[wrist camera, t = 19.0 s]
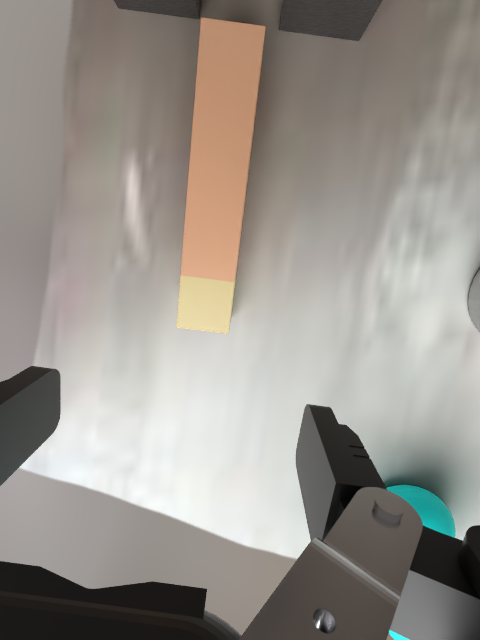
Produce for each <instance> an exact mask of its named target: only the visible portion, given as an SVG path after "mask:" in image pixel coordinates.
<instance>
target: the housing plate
mask: <svg viewBox="0 0 480 640" xmlns="http://www.w3.org/2000/svg"><path fill="white" fill-rule="evenodd" d="M114 1H115V3H116V5H117V7H118V8H121V9H128V10H136V11H143V12H150V13H158V14H165V15H172V16H180V17H187V18H194V19H199V14H200V1H201V0H114ZM381 2H382V0H283V5H282V13H281V20H280V28H279V30H282V31H290V32H297V33H305V34H312V35H319V36H327V37H334V38H341V39H349V40H356V41H359V40H360V38H361V36H362V35H363V33H364V31H365V29H366V28H367V26H368V24H369V23H370V21H371V19H372V17H373V16H374V14H375V12H376V11H377V9H378V7H379V5H380V4H381Z"/></svg>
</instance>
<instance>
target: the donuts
mask: <svg viewBox="0 0 480 640" xmlns="http://www.w3.org/2000/svg"><path fill="white" fill-rule="evenodd" d="M386 489H387V490H388V491H390V492H393V493H395V494H397V495H398V496H400V497H401V498H403V499H404V500H406V501H407V502H408V503H409V504H410V505H411V506H412V507H413V508H414V509H415V510H416V511H417V513H418V514H419V516H420V518H421V520H422V523H423V525H424V526H426V527H428V528H430V529H433V530H435V531H438V532H440V533H443V534H446V535H448V536H451V537H454V538H455V524H454V520H453V517H452V515H451V513H450V511H449V509H448V508H447V506H446V505H445V504H444V502H443V501H442V500H441V499H440V498H438V497H437V496H436V495H434V494H433V493H431V492H430V491H428V490H425V489H423V488H420V487H417V486H411V485H396V486H390V487H386ZM389 633H390V635H391V636H392V637H393V638H394V639H395V640H409V639H407V638H405V637H403V636H401V635H399V634H397V633H395V632H393V631H391V630H389Z"/></svg>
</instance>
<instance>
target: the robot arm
mask: <svg viewBox="0 0 480 640" xmlns="http://www.w3.org/2000/svg"><path fill="white" fill-rule="evenodd" d="M468 307H469V313H470V316H471V320H472V321H473V323H474V325H475V327H476V328H477V329H478V330H479V331H480V270H479V271H478V273H477V274H476V276H475V278H474V280H473V282H472V285H471V287H470V292H469V297H468ZM59 419H60V373H59V371H58V370H56V369H50V368H43V367H36V366H31V367H29V368H27V369H25V370H24V371H22V372H20V373H19V374H17V375H15V376H13V377H12V378H10V379H8V380H5V381H2V382H0V486H1V485H2V484H3V483H4V482H5V481H6V480H7V479H8V478H9V477H10V476H11V475H12V474H13V473H14V472H15V470H17V469H18V468H19V467H20V466H21V465H22V464H23V463H24V462H25V461H26V460H27V459H28V458H29V457H30V456H31V455H32V454H33V453H34V452H35V451H36V450H37V449H38V448H39V447H40V446H41V445H42V444H43V443H44V442H45V441H46V440H47V439H48V438H49V437H50V436H51V435H52V433H53V432H54V431H55V429H56V427H57V425H58V422H59ZM296 468H297V473H298V478H299V483H300V488H301V493H302V498H303V503H304V508H305V513H306V518H307V523H308V528H309V533H310V538H311V542H310V543H309V544H308V546H307V547H306V548H305V550H304V551H303V553H302V554H301V555H300V557H299V558H298V559H297V561H296V562H295V564H294V565H293V566H292V568H291V569H290V571H289V572H288V573H287V575H286V576H285V577H284V579H283V580H282V581H281V583H280V584H279V585H278V587H277V588H276V590H275V591H274V593H273V594H272V595H271V596H270V598H269V599H268V601H267V602H266V603H265V605H264V606H263V607H262V609H261V610H260V612H259V613H258V614H257V615H256V617H255V618H254V620H253V621H252V622H251V624H250V625H249V626H248V628H247V629H246V631H245V632H244V633H243V635H242V636H241V635H240V634H239V633H238V632H237V631H236V630H235V629H234V628H232V627H231V626H230V625H229V624H228V623H227V622H225V621H223V620H222V619H220V618H219V617H217V616H216V615H214V614H212V613H209V612H208V611H205V610H204V608H205V601H206V592H207V589H203V588H196V587H189V586H181V585H174V584H165V583H158V582H146V583H138V584H131V585H123V586H115V587H108V588H100V589H88V588H85V587H82V586H80V585H78V584H76V583H74V582H72V581H70V580H68V579H65V578H63V577H61V576H59V575H57V574H55V573H53V572H50V571H48V570H46V569H44V568H42V567H40V566H32V565H24V564H17V563H10V562H1V561H0V640H386V639H387V636H388V633H389V630H391V631H393V632H395V633H397V634H399V635H401V636H403V637H405V638H407V639H409V640H480V525H478V526H472V527H470V528H469V529H468V530H467V532H466V535H465V537H464V540H463V541H462V540H459V539H456V538H454V537H451V536H448V535H446V534H443V533H440V532H438V531H435V530H433V529H430V528H428V527H426V526H424V525H423V523H422V520H421V518H420V516H419V514H418V513H417V511H416V510H415V509H414V508H413V507H412V506H411V505H410V504H409V503H408V502H407V501H406V500H404V499H403V498H401V497H400V496H398V495H397V494H395V493H393V492H390V491H388V490H387V489H386V487H385V485H384V483H383V481H382V479H381V478H380V476H379V474H378V472H377V470H376V468H375V466H374V465H373V463H372V461H371V459H369V455H368V453H367V452H366V450H365V449H364V446H363V444H362V442H361V440H360V439H359V437H358V435H357V434H356V433H354V432H353V431H352V430H351V429H350V428H349V427H348V426H347V425H341V424H338V422H337V420H336V417H335V415H334V413H333V411H332V409H331V408H330V407H324V406H317V405H309V404H307V405H306V407H305V410H304V414H303V419H302V424H301V429H300V434H299V439H298V444H297V449H296Z"/></svg>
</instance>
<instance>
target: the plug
mask: <svg viewBox="0 0 480 640" xmlns="http://www.w3.org/2000/svg"><path fill="white" fill-rule="evenodd" d="M265 27H266V26H260V25H253V24H245V23H238V22H231V21H224V20H216V19H209V18H202V17H201V27H200V39H199V52H198V64H197V77H196V89H195V102H194V114H193V127H192V139H191V152H190V164H189V177H188V189H187V202H186V214H185V227H184V239H183V252H182V264H181V277H180V289H179V302H178V314H177V327H176V328H184V329H192V330H201V331H209V332H217V333H225V334H228V333H229V328H230V322H231V315H232V307H233V299H234V291H235V282H236V274H237V266H238V258H239V249H240V241H241V233H242V225H243V216H244V208H245V200H246V192H247V183H248V175H249V167H250V159H251V151H252V142H253V134H254V126H255V118H256V109H257V101H258V93H259V85H260V76H261V68H262V58H263V48H264V37H265Z"/></svg>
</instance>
